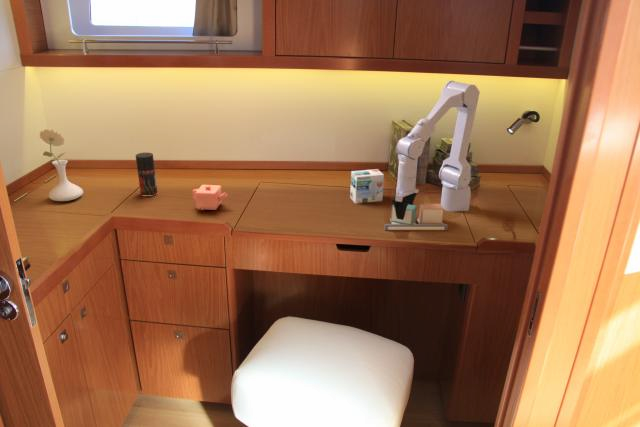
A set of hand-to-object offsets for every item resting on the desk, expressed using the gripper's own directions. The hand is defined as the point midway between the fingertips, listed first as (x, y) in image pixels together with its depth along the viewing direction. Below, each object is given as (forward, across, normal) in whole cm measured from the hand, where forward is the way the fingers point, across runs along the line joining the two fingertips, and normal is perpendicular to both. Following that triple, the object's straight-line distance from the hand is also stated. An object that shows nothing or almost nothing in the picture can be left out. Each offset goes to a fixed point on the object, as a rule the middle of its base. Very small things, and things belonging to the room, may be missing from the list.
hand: (403, 214), depth 169 cm
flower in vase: (+3, -36, +116) cm, 121 cm away
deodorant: (+3, -19, +92) cm, 94 cm away
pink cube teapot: (+3, -19, +64) cm, 66 cm away
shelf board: (+3, +3, -2) cm, 5 cm away
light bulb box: (+3, +13, +18) cm, 23 cm away
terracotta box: (+2, +4, -8) cm, 9 cm away
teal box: (+2, 0, 0) cm, 3 cm away
